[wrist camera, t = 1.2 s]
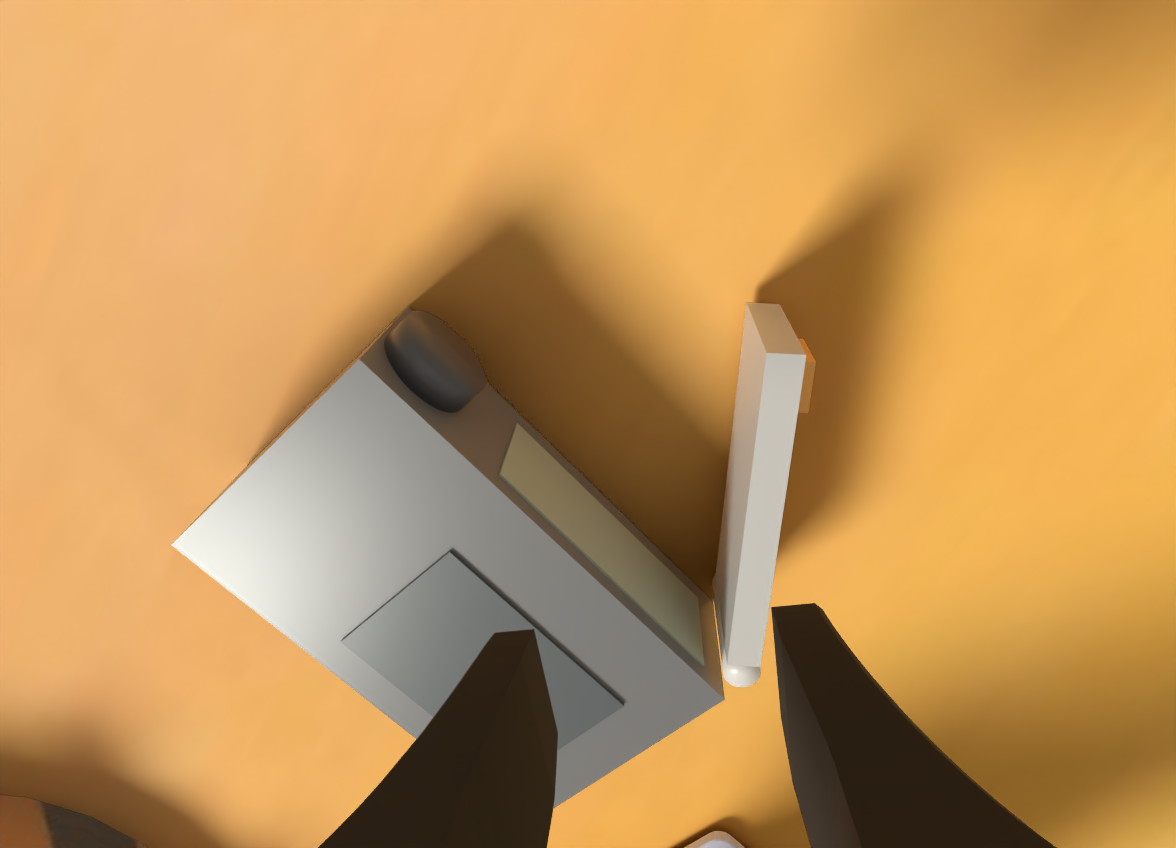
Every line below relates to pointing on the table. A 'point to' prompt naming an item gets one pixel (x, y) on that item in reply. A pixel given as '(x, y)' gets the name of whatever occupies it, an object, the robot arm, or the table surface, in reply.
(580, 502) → the camera body
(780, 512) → the side door
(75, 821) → the cage light
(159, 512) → the table surface
